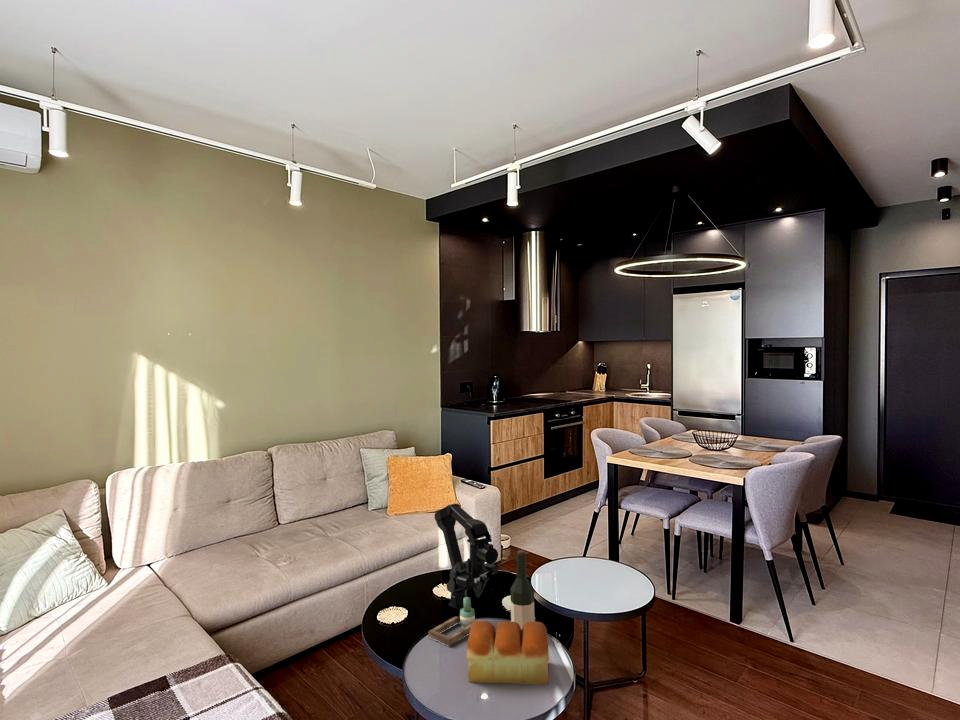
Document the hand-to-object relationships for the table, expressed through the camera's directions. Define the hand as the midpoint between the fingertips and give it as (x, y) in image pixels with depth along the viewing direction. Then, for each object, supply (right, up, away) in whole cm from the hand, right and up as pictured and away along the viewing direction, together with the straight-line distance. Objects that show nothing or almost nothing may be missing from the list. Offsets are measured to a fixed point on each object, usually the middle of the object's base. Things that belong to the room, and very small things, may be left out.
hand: (478, 597), depth 201 cm
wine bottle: (+16, -8, -14) cm, 23 cm away
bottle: (-4, -8, -5) cm, 11 cm away
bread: (+10, -8, -36) cm, 38 cm away
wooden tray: (-9, -8, -11) cm, 16 cm away
